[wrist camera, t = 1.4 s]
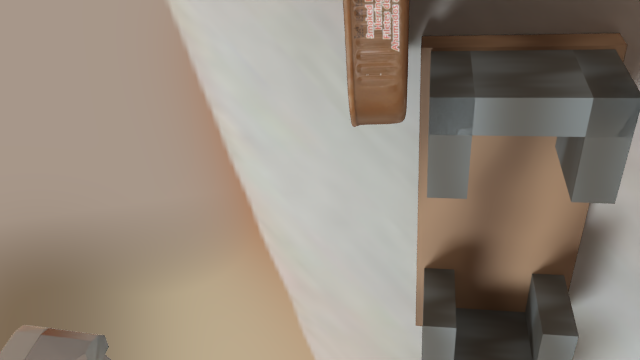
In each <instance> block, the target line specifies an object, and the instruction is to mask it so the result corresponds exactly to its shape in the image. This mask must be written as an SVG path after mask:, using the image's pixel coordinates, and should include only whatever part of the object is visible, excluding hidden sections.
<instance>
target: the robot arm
mask: <svg viewBox="0 0 640 360" xmlns="http://www.w3.org/2000/svg"><path fill="white" fill-rule="evenodd" d="M108 347H109V346H108V344H107V341H106V338H105V336H104V335H98V334H90V333H82V332H75V331H66V330H59V329H52V328H45V327H37V326H28V325H23V326H21V327H20V328H19V329H17V330H16V331H15V332H14V333H13V334H12V336H11V337H10V339H9V340H8V342H7V343H6V345H5V346H4V347H3V349H2V350H1V352H0V360H111V359H110V358H108V357H107V356H106V355H105V353H106V351H107V349H108Z"/></svg>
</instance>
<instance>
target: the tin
mask: <svg viewBox="0 0 640 360" xmlns="http://www.w3.org/2000/svg"><path fill="white" fill-rule="evenodd" d="M343 8H344V25H345V45H346V65H347V84H348V98H349V108H350V117H351V123H352V126H353V127H356V126H358V125H365V124H392V123H399V122H402V121H403V120H404V119H405V115H406V108H407V79H408V34H409V0H343Z"/></svg>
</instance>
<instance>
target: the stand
mask: <svg viewBox="0 0 640 360" xmlns="http://www.w3.org/2000/svg"><path fill="white" fill-rule="evenodd" d="M626 48H627V44H626V43H625V41H624V39H623V38H622V36H621V35H620V33H603V34H538V35H474V36H422V42H421V84H420V134H419V185H418V236H417V286H416V326H423V329H422V360H572V359H573V356H574V352H575V348H576V345H577V341H578V337H579V336H578V332H577V328H576V323H575V319H574V315H573V311H572V307H571V302H570V298H569V294H568V291H569V287H570V283H571V279H572V274H573V270H574V266H575V262H576V258H577V253H578V249H579V245H580V241H581V237H582V233H583V228H584V224H585V220H586V216H587V212H588V207H589V203H611V204H615V201H616V197H617V193H618V190H619V186H620V182H621V178H622V175H623V171H624V167H625V164H626V160H627V156H628V153H629V149H630V145H631V142H632V138H633V134H634V130H635V127H636V123H637V119H638V116H639V112H640V91H639V90H638V88H637V86H636V84H635V83H634V81H633V79H632V77H631V76H630V74H629V72H628V70H627V69H626V67H625V65H624V63H623V61H624V57H625V52H626Z"/></svg>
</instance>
